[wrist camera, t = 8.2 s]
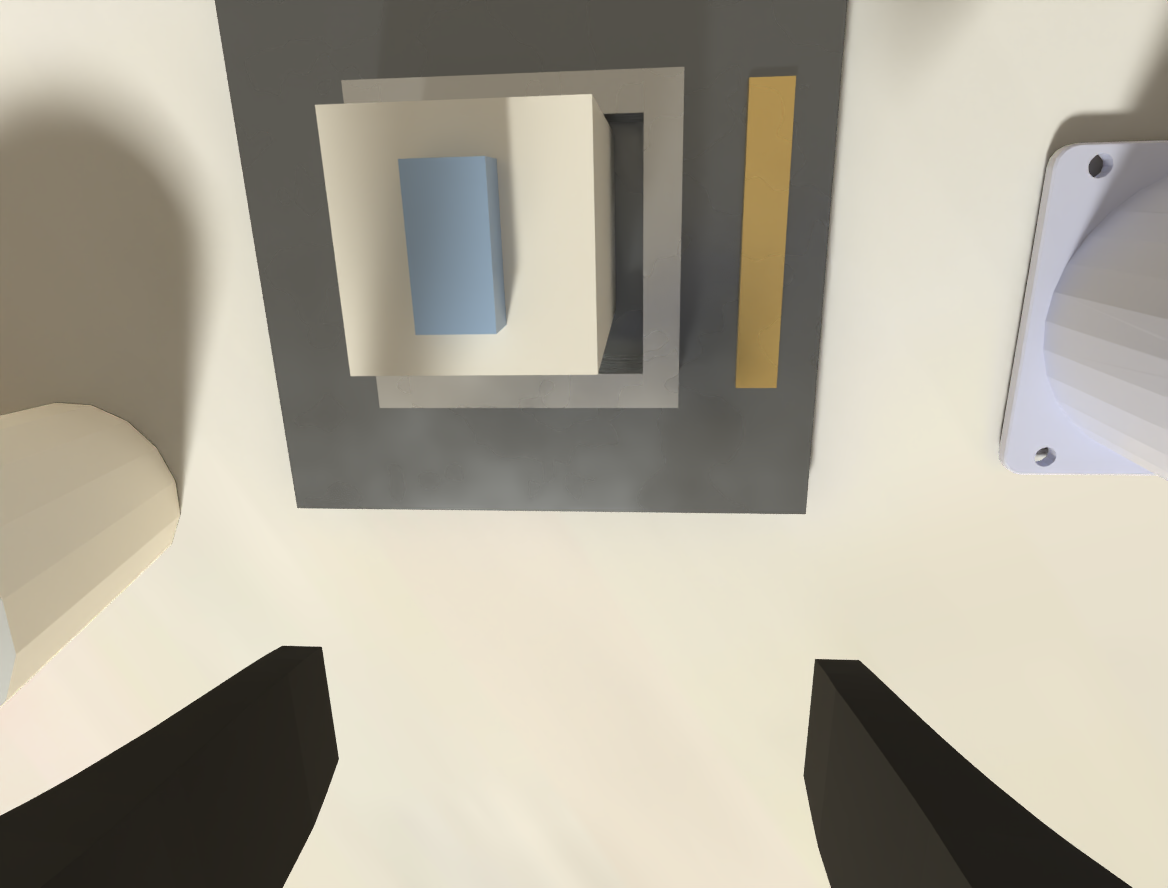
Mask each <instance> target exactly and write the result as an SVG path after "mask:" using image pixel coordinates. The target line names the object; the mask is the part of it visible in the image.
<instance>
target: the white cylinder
mask: <svg viewBox="0 0 1168 888" xmlns="http://www.w3.org/2000/svg"><path fill="white" fill-rule="evenodd" d="M179 518H180V508H179V502H178V495H177V489H176V482H175V480H174V478H173V476H172V474H171V473H170V471H169V469H168V467H167V465H166V464H165V462H164V460H163V458H162V457H161V455H160V453H159V451H158V449H157V448H156V447H155V446H154V445H153V444H152V443H151V442H149V441H148V440H147V439H146V438H145V437H144V436H143V435H142V434H141V433H140V432H138V431H137V430H136V429H135V428H134V427H133V426H132V425H131V424H130V423H129V422H127V421H126V420H123V419H121V418H119V417H117V416H114V415H112V414H110V413H108V412H105V411H103V410H101V409H99V408H97V407H94V406H92V405H81V404H66V403H52V404H48V405H44V406H39V407H35V408H31V409H26V410H22V411H18V412H13V413H9V414H5V415H1V416H0V708H1V707H2V706H3V705H4V704H5V703H6V702H7V701H8V700H9V699H10V698H11V697H12V696H13V695H14V694H15V693H16V692H17V691H19V690H20V689H21V688H22V687H23V686H24V685H25V684H26V683H27V682H28V681H29V680H30V679H31V678H32V677H33V676H34V675H35V674H36V673H38V672H39V671H40V670H41V669H42V668H43V667H44V666H45V665H46V664H47V663H48V662H49V661H50V660H51V659H52V658H53V657H54V656H55V655H56V654H58V653H59V652H60V651H61V650H62V649H63V648H64V647H65V646H66V645H67V644H68V643H69V642H70V641H71V640H72V639H73V638H74V637H75V636H77V635H78V634H79V633H80V632H81V631H82V630H83V629H84V628H85V627H86V626H87V625H88V624H89V623H90V622H91V621H92V620H93V619H94V618H95V617H97V616H98V615H99V614H100V613H101V612H102V611H103V610H104V609H105V608H106V607H107V606H108V605H109V604H110V603H111V602H112V601H113V600H114V599H116V598H117V597H118V596H119V595H120V594H121V593H122V592H123V591H124V590H125V589H126V588H127V587H128V586H129V585H130V584H131V583H132V582H133V581H134V580H136V579H137V578H138V577H139V576H140V575H141V574H142V573H143V572H144V571H145V570H146V569H147V568H148V567H149V566H150V565H151V564H152V563H153V562H154V561H155V560H156V559H157V558H158V557H159V556H160V555H161V554H162V553H163V552H164V551H165V550H166V549H167V548H168V547H169V546H170V545H171V544H172V542H173V538H174V535H175V532H176V528H177V525H178V521H179Z"/></svg>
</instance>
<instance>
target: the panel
mask: <svg viewBox="0 0 1168 888" xmlns="http://www.w3.org/2000/svg"><path fill="white" fill-rule="evenodd" d="M215 5H216V11H217V17H218V23H219V29H220V36H221V42H222V48H223V54H224V60H225V66H226V72H227V79H228V85H229V91H230V97H231V103H232V109H233V115H234V122H235V128H236V134H237V140H238V146H239V152H240V158H241V165H242V171H243V177H244V183H245V189H246V195H247V201H248V208H249V214H250V220H251V226H252V232H253V238H254V244H255V251H256V257H257V263H258V269H259V275H260V281H261V287H262V294H263V300H264V306H265V312H266V318H267V324H268V330H269V337H270V343H271V349H272V355H273V361H274V367H275V373H276V380H277V386H278V392H279V398H280V404H281V410H282V416H283V423H284V429H285V435H286V441H287V447H288V453H289V459H290V466H291V472H292V478H293V484H294V490H295V496H296V502H297V508H333V509H418V510H503V511H588V512H672V513H757V514H806V504H807V491H808V479H809V466H810V454H811V442H812V429H813V417H814V404H815V392H816V379H817V367H818V355H819V342H820V330H821V317H822V305H823V293H824V280H825V268H826V255H827V243H828V230H829V218H830V206H831V193H832V181H833V168H834V156H835V144H836V131H837V119H838V106H839V94H840V81H841V69H842V57H843V44H844V32H845V19H846V7H847V0H215ZM579 94H592V95H593V97H594V98H595V100H596V102H597V104H598V106H599V107H600V109H601V111H602V113H603V115H604V117H605V118H606V120H607V122H608V124H609V126H610V127H611V129H612V131H613V133H614V195H615V282H616V310H615V313H614V317H613V321H612V324H611V328H610V332H609V335H608V339H607V343H606V346H605V350H604V354H603V357H602V361H601V365H600V368H599V372H598V375H465V376H350V368H349V361H348V353H347V346H346V338H345V330H344V323H343V315H342V307H341V300H340V292H339V285H338V277H337V269H336V262H335V254H334V247H333V239H332V231H331V224H330V216H329V208H328V201H327V193H326V186H325V178H324V170H323V163H322V155H321V147H320V140H319V132H318V125H317V117H316V109H315V105H323V104H348V103H374V102H400V101H425V100H451V99H477V98H502V97H528V96H554V95H579Z"/></svg>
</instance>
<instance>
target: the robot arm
mask: <svg viewBox="0 0 1168 888" xmlns="http://www.w3.org/2000/svg"><path fill="white" fill-rule="evenodd" d="M1096 155H1099V156H1100V157H1101V158H1102V160H1103V167H1102V170H1101V172H1100V173H1099V174H1098V175H1097V176H1096V177H1092V176H1091V174H1090V173H1089V168H1088V166H1089V163H1090V161H1091V159H1093V158H1094V157H1095V156H1096ZM1045 447H1048V454H1047V456H1046V457H1045V458H1044V459H1042V460H1040V461H1035V455H1036V453H1037V451H1039V450H1040V449H1041V448H1045ZM999 460H1000V462H1001V463H1002V465H1003V466H1004V467H1006V468H1007V469H1008V470H1010V471H1011V472H1013V473H1017V474H1048V475H1158V476H1160V477H1161V478H1163V479H1165V480H1167V481H1168V140H1158V141H1123V142H1089V143H1074V144H1069V145H1065V146H1063V147H1061V148H1060V149H1058V150H1057V151H1056V152H1055V153H1054V154H1053V155H1052V156H1051V158H1050V159H1049V162H1048V165H1047V168H1046V174H1045V180H1044V185H1043V191H1042V197H1041V203H1040V209H1039V215H1038V221H1037V227H1036V233H1035V239H1034V245H1033V251H1032V257H1031V263H1030V269H1029V275H1028V281H1027V287H1026V293H1025V299H1024V304H1023V310H1022V316H1021V322H1020V328H1019V334H1018V340H1017V346H1016V352H1015V358H1014V364H1013V370H1012V376H1011V382H1010V388H1009V394H1008V400H1007V406H1006V412H1005V417H1004V423H1003V429H1002V435H1001V441H1000V447H999ZM338 760H339V757H338V751H337V744H336V737H335V731H334V724H333V718H332V711H331V704H330V698H329V691H328V685H327V678H326V672H325V665H324V658H323V652H322V647H306V646H281V647H279V648H278V649H276V650H274V651H272V652H270V653H269V654H267V655H265V656H264V657H262V658H260V659H259V660H257V661H256V662H254V663H252V664H251V665H249V666H248V667H246V668H245V669H243V670H241V671H240V672H238V673H237V674H235V675H234V676H232V677H231V678H229V679H228V680H226V681H225V682H223V683H222V684H220V685H218V686H217V687H215V688H214V689H212V690H211V691H209V692H208V693H206V694H205V695H203V696H202V697H200V698H199V699H197V700H196V701H194V702H192V703H191V704H189V705H188V706H186V707H185V708H183V709H182V710H180V711H179V712H177V713H175V714H174V715H172V716H171V717H169V718H168V719H166V720H165V721H163V722H162V723H160V724H159V725H157V726H155V727H154V728H152V729H151V730H149V731H147V732H146V733H144V734H142V735H141V736H139V737H138V738H136V739H134V740H133V741H131V742H129V743H128V744H126V745H124V746H123V747H121V748H119V749H118V750H116V751H114V752H113V753H111V754H109V755H108V756H106V757H104V758H103V759H101V760H99V761H98V762H96V763H94V764H93V765H91V766H89V767H88V768H86V769H85V770H83V771H81V772H80V773H78V774H76V775H75V776H73V777H71V778H69V779H68V780H66V781H64V782H62V783H60V784H59V785H57V786H55V787H53V788H52V789H50V790H48V791H46V792H44V793H42V794H41V795H39V796H37V797H35V798H33V799H31V800H30V801H28V802H26V803H24V804H22V805H20V806H18V807H16V808H14V809H12V810H10V811H8V812H7V813H5V814H3V815H1V816H0V888H283V886H284V884H285V882H286V880H287V878H288V876H289V874H290V872H291V870H292V868H293V866H294V865H295V863H296V861H297V859H298V857H299V855H300V853H301V851H302V849H303V847H304V845H305V843H306V841H307V839H308V837H309V835H310V833H311V831H312V829H313V827H314V825H315V822H316V820H317V817H318V814H319V812H320V809H321V807H322V804H323V802H324V799H325V796H326V794H327V791H328V788H329V785H330V782H331V780H332V777H333V774H334V771H335V768H336V766H337V763H338ZM804 780H805V785H806V790H807V795H808V800H809V805H810V811H811V816H812V820H813V825H814V830H815V834H816V839H817V844H818V848H819V851H820V854H821V858H822V861H823V864H824V867H825V870H826V873H827V876H828V879H829V883H830V886H831V888H1132V887H1131V886H1129V885H1128V884H1127V883H1125V882H1124V881H1122V880H1121V879H1120V878H1118V877H1117V876H1115V875H1114V874H1112V873H1111V872H1110V871H1108V870H1107V869H1105V868H1104V867H1103V866H1101V865H1100V864H1098V863H1097V862H1096V861H1094V860H1093V859H1091V858H1090V857H1089V856H1087V855H1086V854H1084V853H1083V852H1082V851H1080V850H1079V849H1077V848H1076V847H1075V846H1073V845H1072V844H1070V843H1069V842H1068V841H1066V840H1065V839H1064V838H1062V837H1061V836H1060V835H1058V834H1057V833H1056V832H1054V831H1053V830H1052V829H1051V828H1049V827H1048V826H1047V825H1045V824H1044V823H1043V822H1041V821H1040V820H1039V819H1038V818H1036V817H1035V816H1034V815H1033V814H1031V813H1030V812H1029V811H1028V810H1026V809H1025V808H1024V807H1023V806H1022V805H1020V804H1019V803H1018V802H1017V801H1015V800H1014V799H1013V798H1012V797H1010V796H1009V795H1008V794H1007V793H1005V792H1004V791H1003V790H1002V789H1000V788H999V787H998V786H997V785H996V784H994V783H993V782H992V781H991V780H990V779H989V778H987V777H986V776H985V775H984V774H983V773H981V772H980V771H979V770H978V769H977V768H976V767H974V766H973V765H972V764H971V763H970V762H969V761H968V760H966V759H965V758H964V757H963V756H962V755H961V754H960V753H958V752H957V751H956V750H955V749H954V748H953V747H952V746H951V745H950V744H948V743H947V742H946V741H945V740H944V739H943V738H942V737H941V736H940V735H938V734H937V733H936V732H935V731H934V730H933V729H932V728H931V727H930V726H929V725H928V724H926V723H925V722H924V721H923V720H922V719H921V718H920V717H919V716H918V715H917V714H916V713H915V712H914V711H913V710H912V709H910V708H909V707H908V706H907V705H906V704H905V703H904V702H903V701H902V700H901V699H900V698H899V697H898V696H897V695H896V694H895V693H894V692H893V691H892V690H890V689H889V688H888V687H887V686H886V685H885V684H884V683H883V682H882V681H881V680H880V679H879V678H878V677H877V676H876V675H875V674H874V673H873V672H872V671H870V670H869V669H868V668H867V667H866V666H865V665H864V664H863V663H862V662H861V661H859V660H829V659H815V665H814V675H813V686H812V696H811V706H810V716H809V726H808V737H807V747H806V757H805V767H804Z"/></svg>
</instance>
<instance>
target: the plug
mask: <svg viewBox="0 0 1168 888" xmlns="http://www.w3.org/2000/svg"><path fill="white" fill-rule="evenodd" d="M315 109H316V117H317V125H318V132H319V140H320V147H321V155H322V163H323V170H324V178H325V186H326V193H327V201H328V208H329V216H330V224H331V231H332V239H333V247H334V254H335V262H336V269H337V277H338V285H339V292H340V300H341V307H342V315H343V323H344V330H345V338H346V346H347V353H348V361H349V368H350V376H465V375H598V372H599V368H600V365H601V361H602V357H603V354H604V350H605V346H606V343H607V339H608V335H609V332H610V328H611V324H612V321H613V317H614V313H615V310H616V282H615V195H614V133H613V131H612V129H611V127H610V126H609V124H608V122H607V120H606V118H605V117H604V115H603V113H602V111H601V109H600V107H599V106H598V104H597V102H596V100H595V98H594V97H593V95H592V94H579V95H554V96H528V97H502V98H477V99H451V100H425V101H400V102H374V103H348V104H323V105H315Z"/></svg>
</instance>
